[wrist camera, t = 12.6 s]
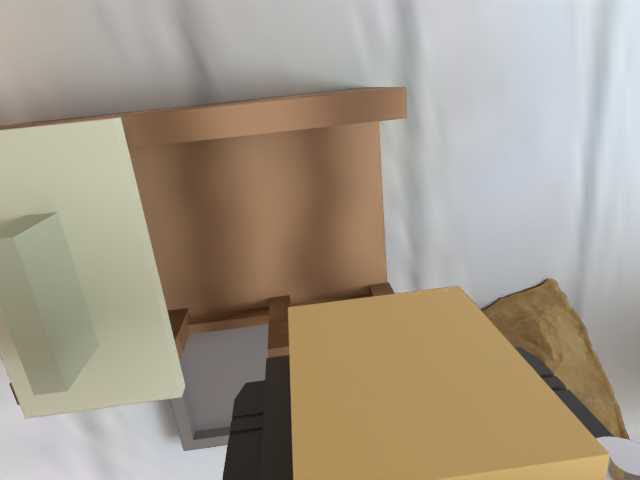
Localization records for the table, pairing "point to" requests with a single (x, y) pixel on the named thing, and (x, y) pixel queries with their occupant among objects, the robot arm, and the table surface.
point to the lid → (79, 274)
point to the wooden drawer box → (261, 205)
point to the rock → (559, 346)
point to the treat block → (424, 396)
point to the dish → (216, 382)
